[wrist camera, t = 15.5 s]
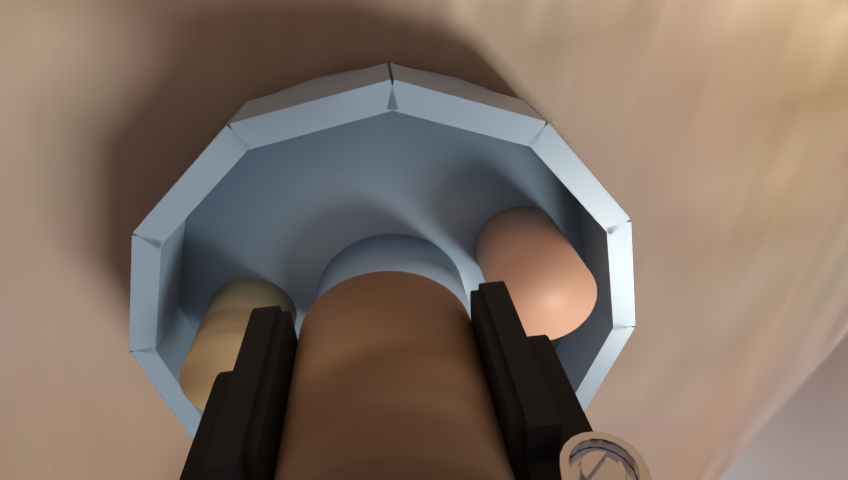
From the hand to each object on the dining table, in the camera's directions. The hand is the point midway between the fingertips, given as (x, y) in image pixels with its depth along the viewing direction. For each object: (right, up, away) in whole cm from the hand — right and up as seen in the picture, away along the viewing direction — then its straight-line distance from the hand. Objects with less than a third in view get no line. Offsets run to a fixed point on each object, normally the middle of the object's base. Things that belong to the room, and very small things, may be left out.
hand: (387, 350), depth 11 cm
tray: (-1, 0, +14) cm, 14 cm away
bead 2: (0, 0, 0) cm, 0 cm away
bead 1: (-7, -1, +13) cm, 15 cm away
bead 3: (+5, +2, +12) cm, 14 cm away
